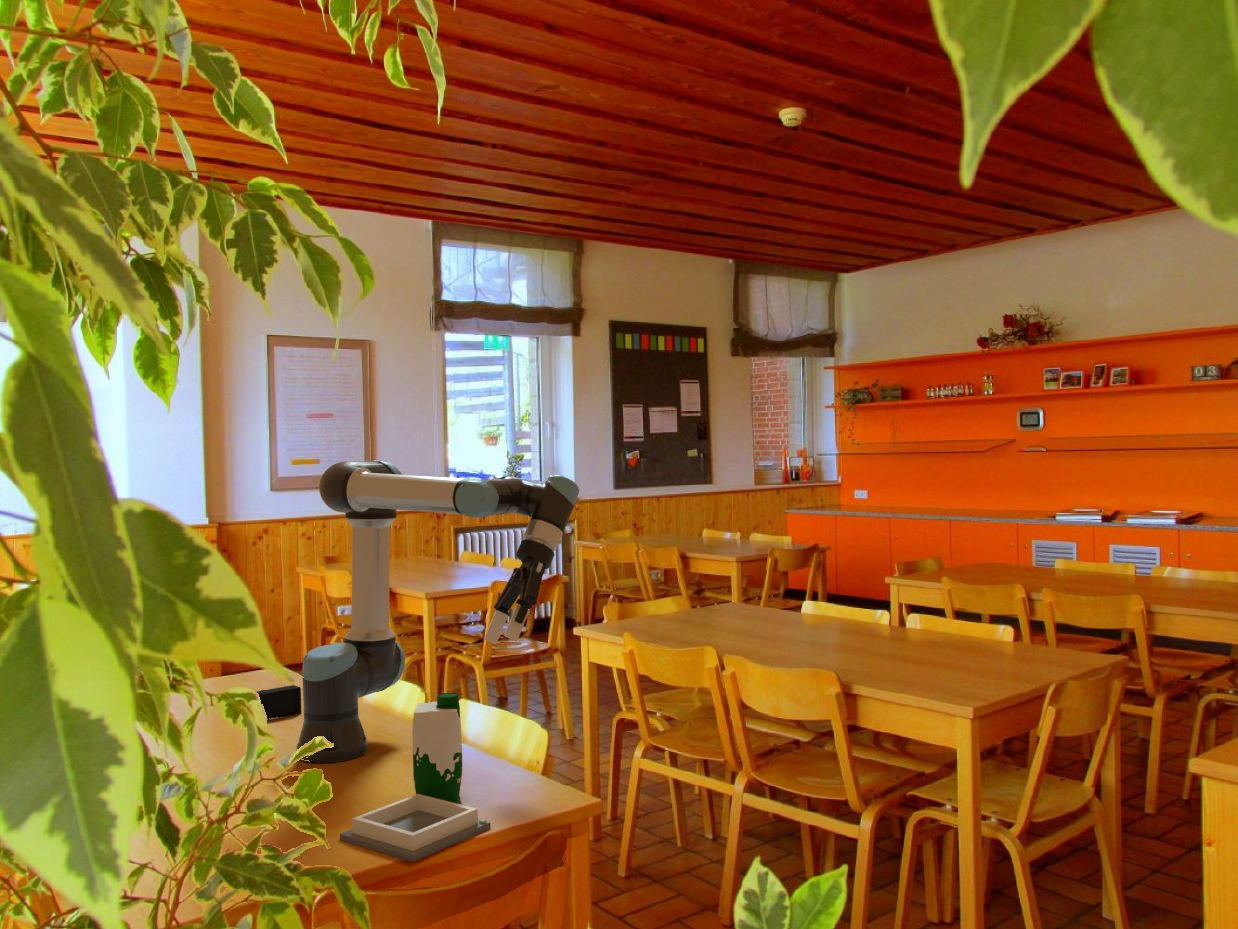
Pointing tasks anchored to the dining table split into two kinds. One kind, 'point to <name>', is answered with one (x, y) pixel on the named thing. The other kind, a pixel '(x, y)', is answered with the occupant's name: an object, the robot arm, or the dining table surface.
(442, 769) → the soya milk
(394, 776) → the dining table surface
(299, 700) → the digital camera
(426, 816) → the dock
